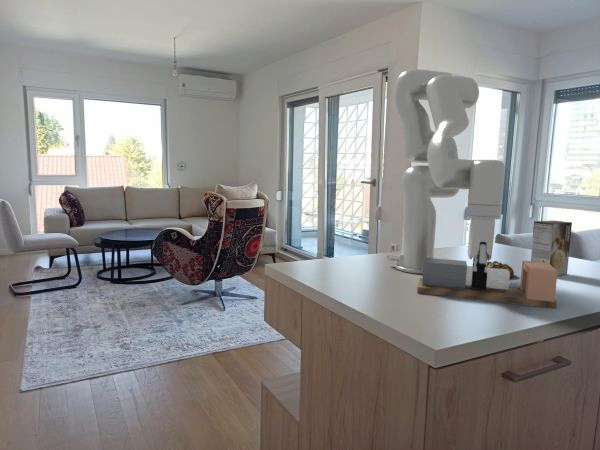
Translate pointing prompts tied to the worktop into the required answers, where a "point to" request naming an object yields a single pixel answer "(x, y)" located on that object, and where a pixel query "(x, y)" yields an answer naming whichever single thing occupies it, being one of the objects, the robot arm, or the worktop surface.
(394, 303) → the worktop surface
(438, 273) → the sleeve
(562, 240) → the coffee box
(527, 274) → the socket block
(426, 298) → the worktop surface
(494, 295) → the base board
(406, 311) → the worktop surface
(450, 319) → the worktop surface
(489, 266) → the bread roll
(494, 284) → the light grey bar
